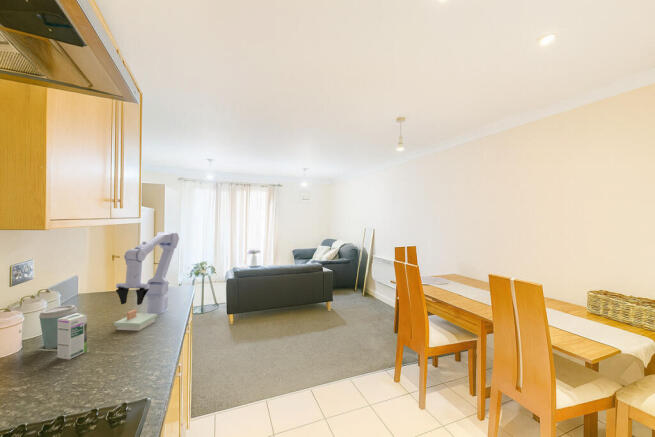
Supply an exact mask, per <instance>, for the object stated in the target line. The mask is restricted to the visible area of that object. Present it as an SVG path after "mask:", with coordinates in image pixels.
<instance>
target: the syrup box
mask: <svg viewBox="0 0 655 437" xmlns="http://www.w3.org/2000/svg"><path fill="white" fill-rule="evenodd" d="M87 325H88V315H87V314H85V313H82V312H79V313H78V312H76V313H75V314H72V315H69V316H66V317H63V318H59V319H58V347H57V358H58V359H64V360H69V361H70V360H72V359H74V358H75V357H78V356H80V355H82V354H84V353H87V351H88V350H87V348H88V347H87V345H88V339H87V338H88V335H87V334H88V326H87Z"/></svg>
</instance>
